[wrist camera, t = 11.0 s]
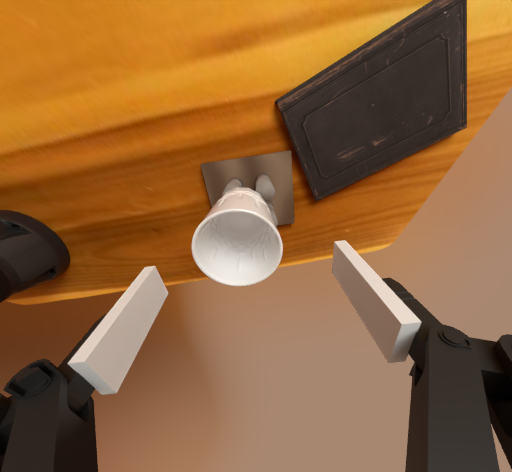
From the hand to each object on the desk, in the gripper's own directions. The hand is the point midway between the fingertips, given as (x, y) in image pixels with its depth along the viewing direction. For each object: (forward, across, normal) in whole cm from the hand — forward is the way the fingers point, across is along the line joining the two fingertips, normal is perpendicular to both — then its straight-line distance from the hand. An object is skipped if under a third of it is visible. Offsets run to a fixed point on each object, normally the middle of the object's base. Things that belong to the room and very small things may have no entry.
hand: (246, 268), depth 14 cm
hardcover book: (+22, -19, -9) cm, 30 cm away
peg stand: (+21, -1, 0) cm, 21 cm away
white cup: (+13, +1, 0) cm, 13 cm away
